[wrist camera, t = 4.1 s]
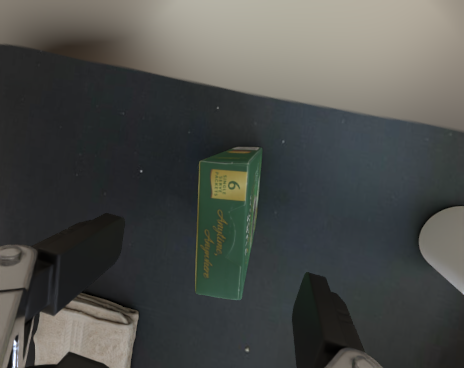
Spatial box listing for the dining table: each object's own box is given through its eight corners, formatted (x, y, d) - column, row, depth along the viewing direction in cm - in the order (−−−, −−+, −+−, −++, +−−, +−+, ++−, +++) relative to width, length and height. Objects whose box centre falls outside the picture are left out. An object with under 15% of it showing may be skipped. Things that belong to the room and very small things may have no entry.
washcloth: (142, 305, 32) (129, 323, 29) (128, 415, 36) (115, 441, 33) (54, 279, 33) (32, 294, 30) (50, 389, 37) (31, 411, 34)
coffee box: (234, 141, 26) (195, 158, 13) (264, 144, 25) (253, 163, 13) (229, 219, 28) (191, 299, 15) (257, 222, 27) (241, 307, 15)
